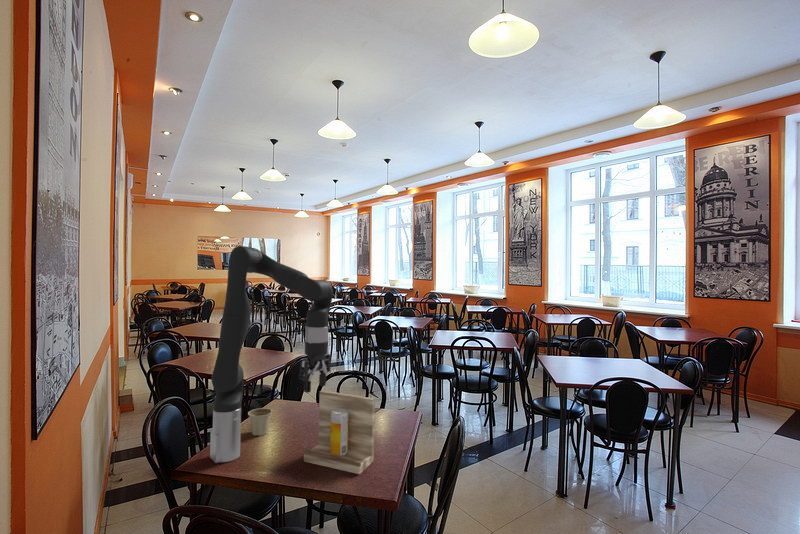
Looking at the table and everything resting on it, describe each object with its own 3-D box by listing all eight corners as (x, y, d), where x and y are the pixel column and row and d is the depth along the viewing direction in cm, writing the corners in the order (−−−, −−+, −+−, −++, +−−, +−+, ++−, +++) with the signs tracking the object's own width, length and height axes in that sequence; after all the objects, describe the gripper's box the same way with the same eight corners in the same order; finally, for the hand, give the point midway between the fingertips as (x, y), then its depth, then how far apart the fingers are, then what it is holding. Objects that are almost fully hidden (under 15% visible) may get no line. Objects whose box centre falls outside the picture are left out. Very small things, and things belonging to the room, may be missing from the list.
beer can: (339, 448, 148) (340, 407, 148) (351, 453, 144) (352, 410, 144) (326, 454, 143) (327, 411, 144) (338, 459, 139) (339, 415, 140)
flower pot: (242, 435, 164) (242, 414, 164) (257, 427, 173) (258, 406, 173) (262, 439, 161) (262, 417, 161) (276, 430, 170) (276, 409, 170)
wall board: (359, 474, 134) (360, 407, 135) (303, 461, 143) (305, 398, 143) (373, 460, 144) (374, 398, 145) (320, 449, 153) (322, 390, 153)
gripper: (319, 336, 144) (318, 382, 143) (293, 341, 131) (292, 392, 130) (337, 338, 141) (336, 385, 140) (313, 344, 128) (311, 396, 127)
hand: (314, 388), depth 135 cm, fingers open, 8 cm apart
